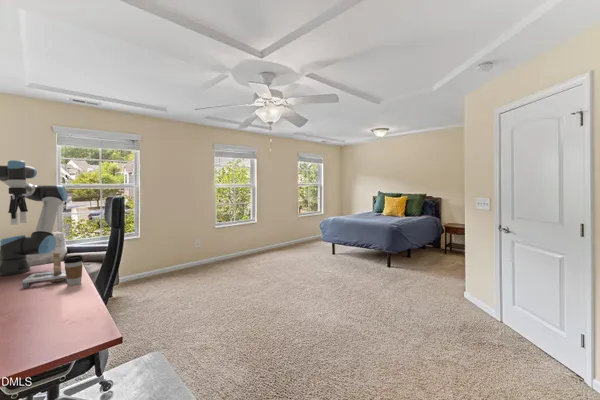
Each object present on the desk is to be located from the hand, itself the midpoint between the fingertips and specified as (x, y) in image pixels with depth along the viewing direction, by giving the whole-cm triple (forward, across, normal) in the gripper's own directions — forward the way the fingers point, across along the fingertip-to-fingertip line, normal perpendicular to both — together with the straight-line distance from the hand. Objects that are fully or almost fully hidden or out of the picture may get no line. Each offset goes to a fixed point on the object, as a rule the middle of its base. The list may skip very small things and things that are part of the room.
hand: (19, 223), depth 172 cm
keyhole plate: (+33, +16, +17) cm, 40 cm away
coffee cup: (+33, +30, +30) cm, 54 cm away
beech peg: (+33, +16, +20) cm, 41 cm away
